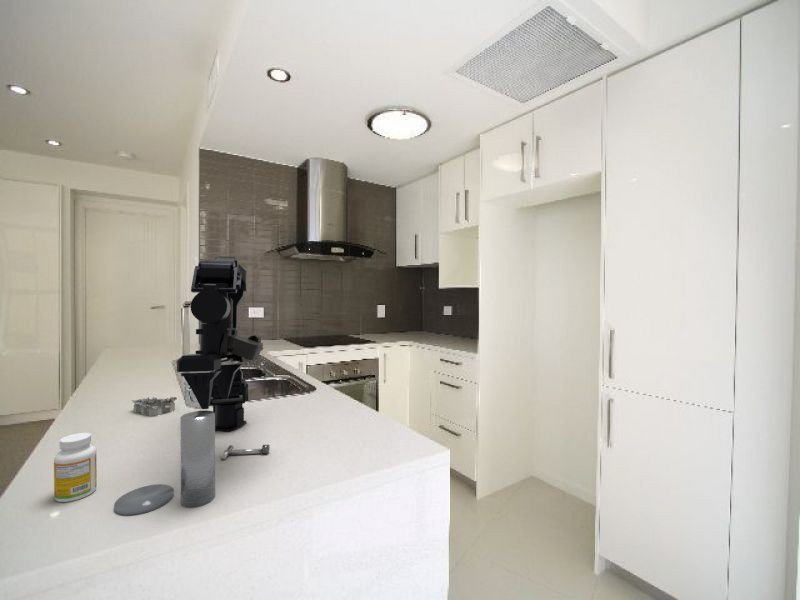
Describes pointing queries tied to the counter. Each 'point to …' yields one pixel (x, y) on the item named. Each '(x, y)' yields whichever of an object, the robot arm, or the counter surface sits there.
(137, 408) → the egg carton
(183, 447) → the grey cylindrical piece
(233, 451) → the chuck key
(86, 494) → the supplement bottle
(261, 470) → the counter surface
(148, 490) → the coaster
